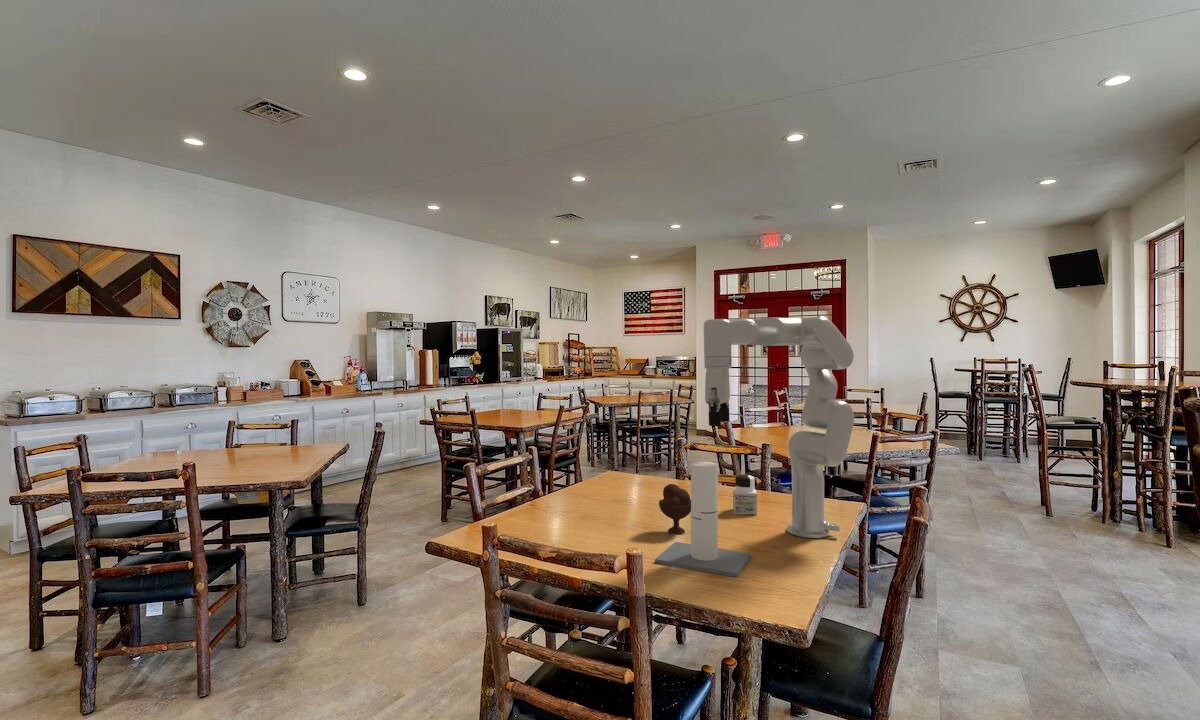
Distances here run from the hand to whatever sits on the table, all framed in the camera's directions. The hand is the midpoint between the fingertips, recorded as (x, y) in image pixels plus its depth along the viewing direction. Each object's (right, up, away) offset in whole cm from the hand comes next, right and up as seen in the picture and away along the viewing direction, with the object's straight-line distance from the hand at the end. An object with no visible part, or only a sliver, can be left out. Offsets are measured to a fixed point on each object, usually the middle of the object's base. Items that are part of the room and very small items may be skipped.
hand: (719, 423), depth 159 cm
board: (-6, -36, -6) cm, 37 cm away
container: (+18, -36, +41) cm, 58 cm away
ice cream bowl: (-10, -36, +18) cm, 42 cm away
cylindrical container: (-5, -36, -6) cm, 36 cm away
